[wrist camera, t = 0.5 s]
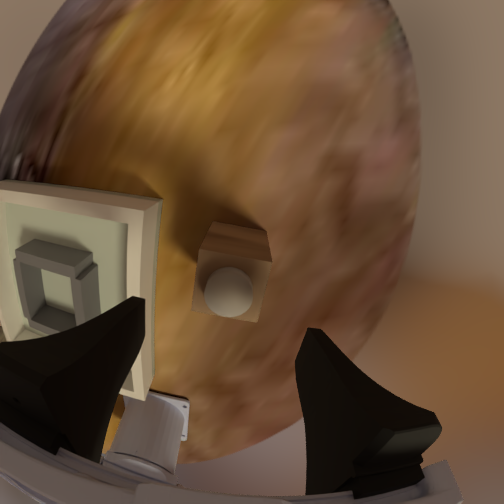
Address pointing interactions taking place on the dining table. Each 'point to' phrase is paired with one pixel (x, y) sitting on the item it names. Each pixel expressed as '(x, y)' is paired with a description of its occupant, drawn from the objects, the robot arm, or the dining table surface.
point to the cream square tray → (77, 262)
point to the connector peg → (232, 272)
